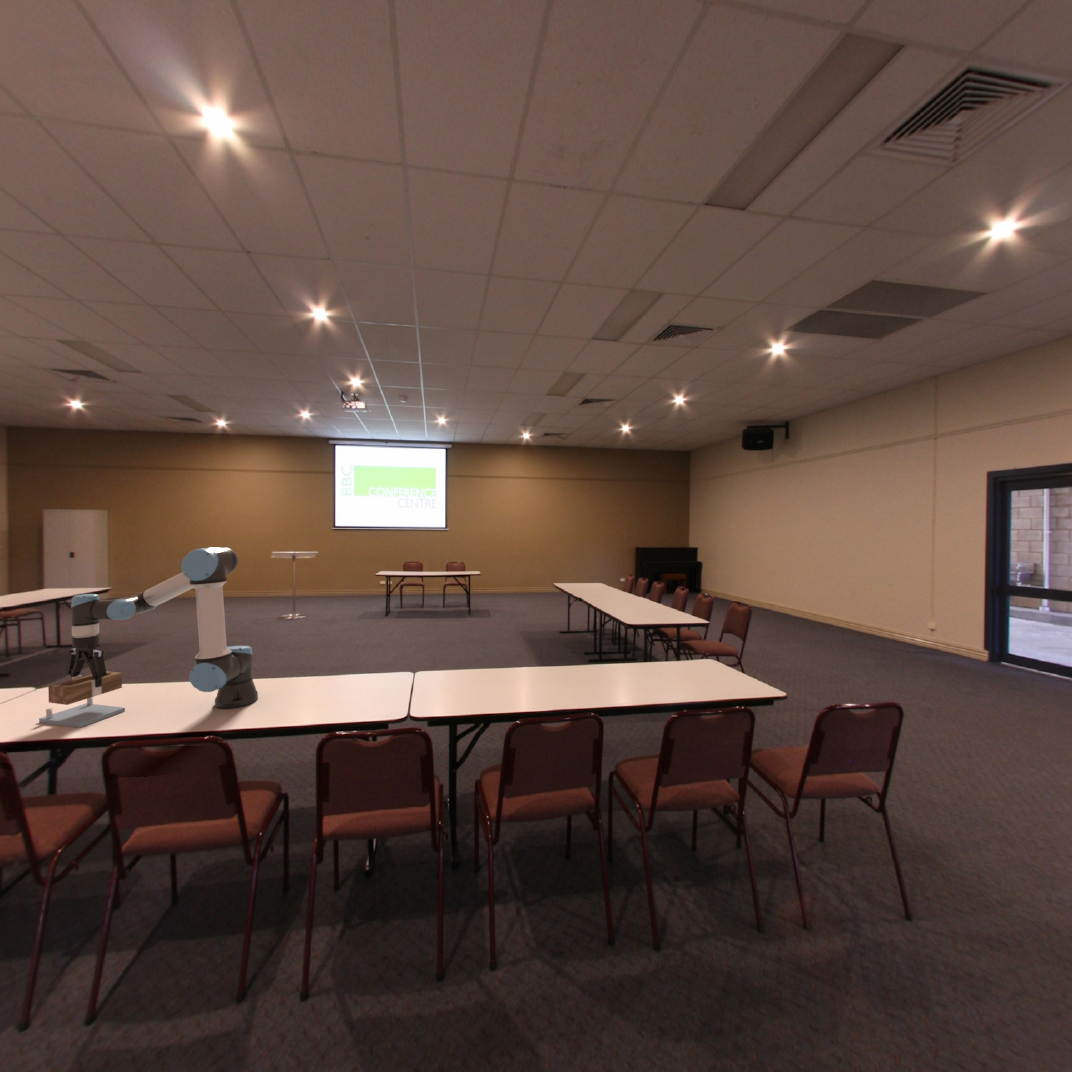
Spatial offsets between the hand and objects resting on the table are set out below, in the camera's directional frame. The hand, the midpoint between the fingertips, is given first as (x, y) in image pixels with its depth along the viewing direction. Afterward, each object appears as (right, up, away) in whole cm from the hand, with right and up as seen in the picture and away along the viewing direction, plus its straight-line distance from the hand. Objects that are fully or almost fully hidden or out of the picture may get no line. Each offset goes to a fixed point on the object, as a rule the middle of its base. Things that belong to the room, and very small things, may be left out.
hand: (86, 694), depth 177 cm
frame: (0, 0, 0) cm, 0 cm away
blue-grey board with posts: (-2, -9, +1) cm, 9 cm away
